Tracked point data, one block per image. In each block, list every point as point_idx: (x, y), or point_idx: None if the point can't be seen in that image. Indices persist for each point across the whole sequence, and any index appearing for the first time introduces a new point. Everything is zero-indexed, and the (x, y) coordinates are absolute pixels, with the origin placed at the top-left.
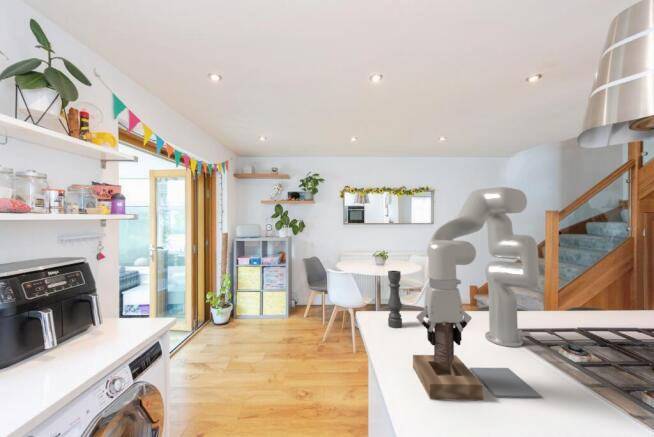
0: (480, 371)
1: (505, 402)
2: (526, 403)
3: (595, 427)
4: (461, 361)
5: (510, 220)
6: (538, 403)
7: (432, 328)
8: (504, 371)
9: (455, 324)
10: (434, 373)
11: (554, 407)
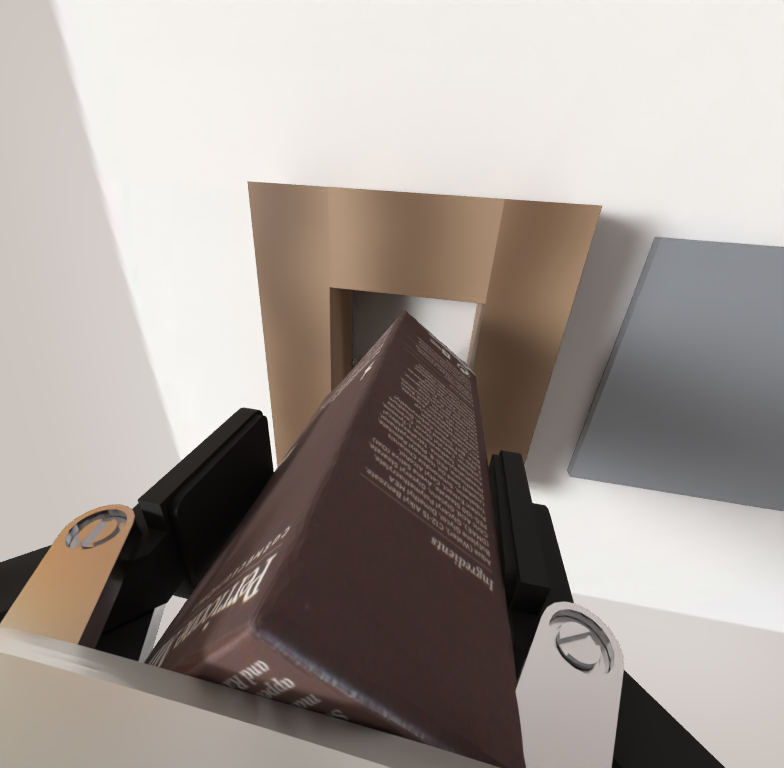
0: (689, 292)
1: (579, 495)
2: (661, 512)
3: (763, 617)
4: (569, 311)
5: None
6: (713, 520)
7: (141, 635)
8: None
9: (539, 697)
10: None
11: (751, 544)
